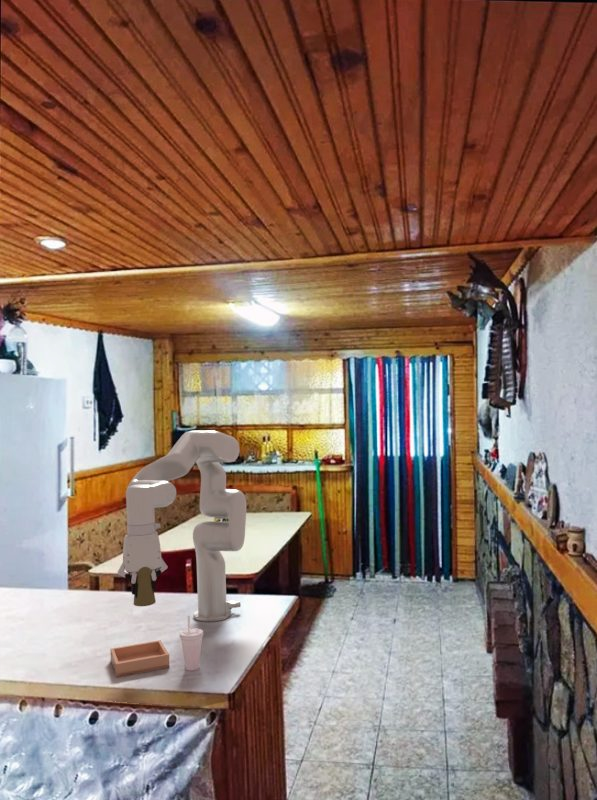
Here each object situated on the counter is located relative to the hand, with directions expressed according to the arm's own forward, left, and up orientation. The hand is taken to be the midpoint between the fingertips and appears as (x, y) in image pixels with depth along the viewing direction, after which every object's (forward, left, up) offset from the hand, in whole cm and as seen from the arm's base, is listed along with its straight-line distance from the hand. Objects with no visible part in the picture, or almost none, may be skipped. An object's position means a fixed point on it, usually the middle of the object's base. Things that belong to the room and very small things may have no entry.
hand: (143, 594), depth 180 cm
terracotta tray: (+2, 0, -19) cm, 19 cm away
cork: (0, 0, -2) cm, 2 cm away
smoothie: (-11, +9, -19) cm, 24 cm away
